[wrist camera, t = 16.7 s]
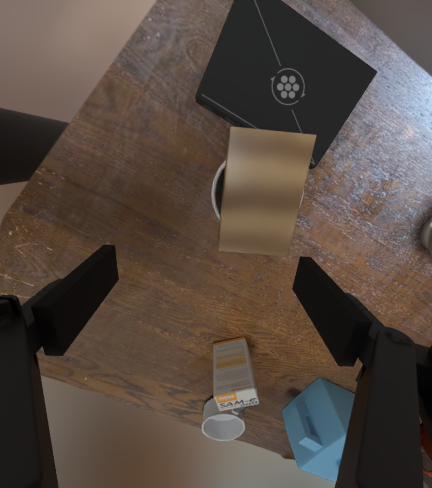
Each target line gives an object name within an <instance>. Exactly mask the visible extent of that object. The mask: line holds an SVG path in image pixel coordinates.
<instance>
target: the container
mask: <svg viewBox="0 0 432 488" xmlns="http://www.w3.org/2000/svg"><path fill="white" fill-rule="evenodd" d="M354 397H355V394H354V393H352V392H350V391H348V390H346V389H344V388H342V387H339V386H337V385H335V384H333V383H331V382H329V381H327V380H324V379H322V378H318V379H317V380H315V381H314V382H313V383H312V384H310V385H309V386H308V387H307V388H306V389H305V390H303V391H302V392H301V393H300V394H299V395H298V396H297V397H296V398H294V399H293V400H292V401H291V402H290V403H289V404H288V405H287V406H286V407H285V408H284V409H283V410H282V414H283V419H284V424H285V427H286V431H287V434H288V438H289V441H290V444H291V447H292V451H293V454H294V457H295V460H296V463H297V466H298V468H299V469H300V470H302V471H305V472H308V473H310V474H313V475H316V476H319V477H322V478H325V479H327V480H330V481H333V482H336V480H337V475H338V471H339V466H340V462H341V457H342V452H343V448H344V443H345V439H346V434H347V429H348V425H349V420H350V416H351V411H352V406H353V402H354Z"/></svg>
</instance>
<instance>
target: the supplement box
mask: <svg viewBox="0 0 432 488" xmlns="http://www.w3.org/2000/svg"><path fill="white" fill-rule="evenodd" d="M213 396H214V399H215V401H216V403H217V406H218V408H219V410H220V411H224V410H229V409H234V408H239V407H245V406H250V405H255V404H259V400H258V394H257V389H256V384H255V378H254V373H253V368H252V363H251V358H250V352H249V348H248V345H247V342H246V339H245V337H240V338H236V339H231V340H227V341H222V342H217V343H214V344H213Z"/></svg>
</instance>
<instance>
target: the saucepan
mask: <svg viewBox="0 0 432 488" xmlns="http://www.w3.org/2000/svg"><path fill="white" fill-rule="evenodd" d="M246 407H247V406H245V407H239V408H234V409H229V410H224V411H220V410H219V408H218V406H217V403H216V401H215V399H214V398H213V399H211V400H209V401H208V402H207V403H206V404H205V406H204V416H203V424H202V432H203V433H204V434H205V435H206V436H207V437H209V438H211V439H214V440H220V441H226V440H232V439H235V438H237V437H239V436H240V435H241V434H242V433H243V432H244V430H245V424H244V422H243V416H242V410H243V409H245V408H246Z"/></svg>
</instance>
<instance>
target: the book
mask: <svg viewBox="0 0 432 488" xmlns="http://www.w3.org/2000/svg"><path fill="white" fill-rule="evenodd" d="M376 73H377V71H376V70H375V69H373V68H372V67H370V66H369V65H368V64H366V63H365V62H364V61H362V60H361V59H360V58H358V57H357V56H356V55H354V54H353V53H352V52H350V51H349V50H347V49H346V48H345V47H343V46H342V45H341V44H339V43H338V42H337V41H335V40H334V39H333V38H331V37H330V36H329V35H327V34H326V33H325V32H323V31H322V30H320V29H319V28H318V27H316V26H315V25H314V24H312V23H311V22H310V21H308V20H307V19H306V18H304V17H303V16H302V15H300V14H299V13H297V12H296V11H295V10H293V9H292V8H291V7H289V6H288V5H287V4H285V3H284V2H283V1H281V0H234V2H233V4H232V7H231V9H230V12H229V14H228V17H227V19H226V22H225V24H224V26H223V29H222V31H221V34H220V36H219V39H218V41H217V44H216V46H215V49H214V51H213V54H212V56H211V59H210V61H209V63H208V66H207V68H206V71H205V73H204V76H203V78H202V81H201V83H200V86H199V88H198V91H197V93H196V102H197V103H199V104H201V105H202V106H204V107H206V108H207V109H209V110H211V111H212V112H214V113H216V114H217V115H219V116H221V117H222V118H224V119H226V120H228V121H229V122H231V123H233V124H234V125H236V126H238V127H242V128H252V129H262V130H272V131H282V132H292V133H302V134H311V135H316V139H315V144H314V148H313V152H312V156H311V161H310V165H309V169H313V168H315V167H316V166H317V165H318V163H319V161H320V160H321V158H322V157H323V155H324V154H325V152H326V151H327V149H328V148H329V146H330V144H331V143H332V141H333V140H334V138H335V137H336V135H337V134H338V132H339V131H340V129H341V127H342V126H343V124H344V123H345V121H346V120H347V118H348V117H349V115H350V114H351V112H352V110H353V109H354V107H355V106H356V104H357V103H358V101H359V100H360V98H361V97H362V95H363V93H364V92H365V90H366V89H367V87H368V86H369V84H370V83H371V81H372V79H373V78H374V76H375V75H376Z"/></svg>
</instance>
